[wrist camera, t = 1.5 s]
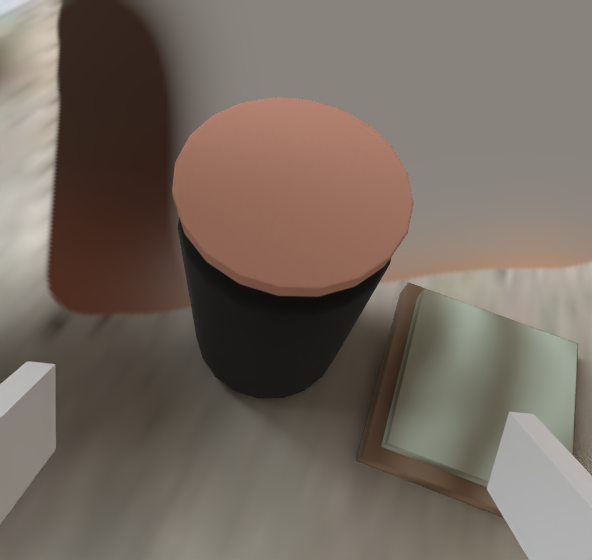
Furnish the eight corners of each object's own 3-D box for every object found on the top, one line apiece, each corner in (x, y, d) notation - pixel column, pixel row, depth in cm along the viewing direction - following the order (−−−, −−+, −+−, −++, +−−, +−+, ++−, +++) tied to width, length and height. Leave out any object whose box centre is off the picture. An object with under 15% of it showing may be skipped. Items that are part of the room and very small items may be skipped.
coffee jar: (267, 250, 40) (290, 66, 24) (363, 334, 37) (459, 189, 22) (167, 332, 35) (117, 172, 20) (269, 435, 33) (304, 343, 17)
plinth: (355, 460, 33) (368, 452, 30) (400, 293, 39) (414, 273, 36) (551, 535, 32) (585, 535, 29) (562, 352, 39) (590, 336, 36)
